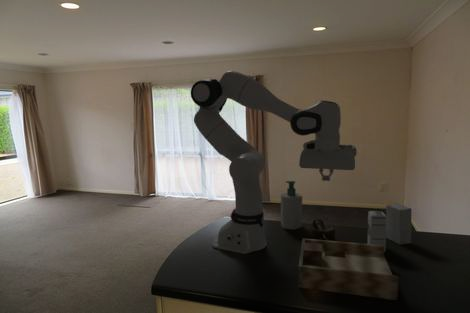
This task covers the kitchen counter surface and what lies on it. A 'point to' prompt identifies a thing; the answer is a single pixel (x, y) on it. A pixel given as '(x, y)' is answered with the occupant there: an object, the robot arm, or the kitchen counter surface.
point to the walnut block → (312, 254)
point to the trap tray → (349, 270)
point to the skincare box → (398, 223)
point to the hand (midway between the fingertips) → (325, 180)
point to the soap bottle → (291, 208)
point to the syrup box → (376, 228)
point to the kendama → (322, 231)
